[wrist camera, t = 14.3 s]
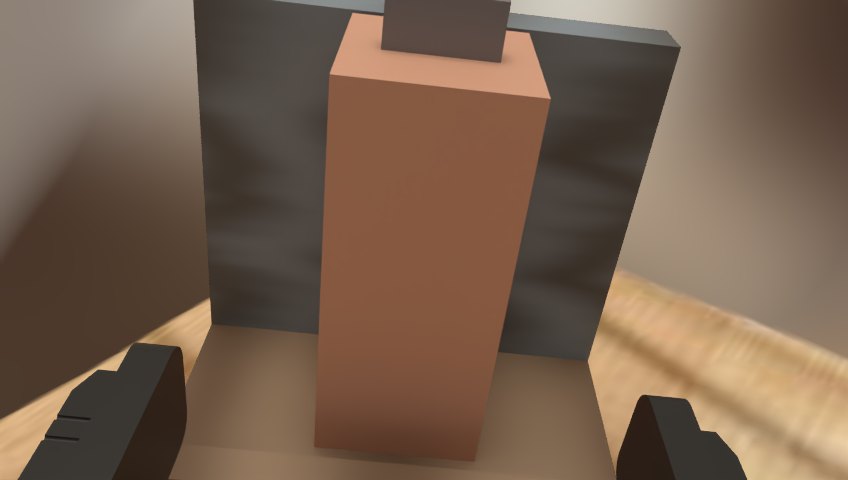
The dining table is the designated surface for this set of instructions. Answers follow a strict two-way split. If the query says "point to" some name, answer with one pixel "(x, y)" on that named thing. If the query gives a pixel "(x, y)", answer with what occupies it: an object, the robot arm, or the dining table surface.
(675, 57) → the grey brown l-shaped block
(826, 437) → the dining table surface
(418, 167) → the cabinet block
